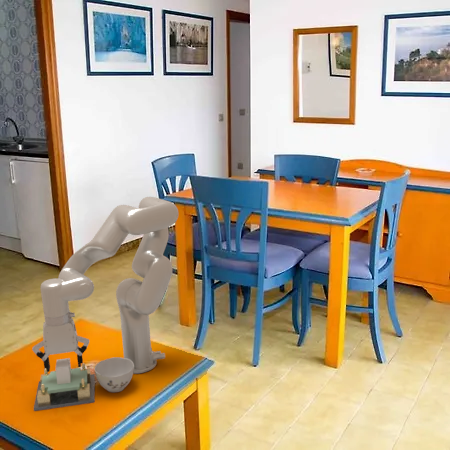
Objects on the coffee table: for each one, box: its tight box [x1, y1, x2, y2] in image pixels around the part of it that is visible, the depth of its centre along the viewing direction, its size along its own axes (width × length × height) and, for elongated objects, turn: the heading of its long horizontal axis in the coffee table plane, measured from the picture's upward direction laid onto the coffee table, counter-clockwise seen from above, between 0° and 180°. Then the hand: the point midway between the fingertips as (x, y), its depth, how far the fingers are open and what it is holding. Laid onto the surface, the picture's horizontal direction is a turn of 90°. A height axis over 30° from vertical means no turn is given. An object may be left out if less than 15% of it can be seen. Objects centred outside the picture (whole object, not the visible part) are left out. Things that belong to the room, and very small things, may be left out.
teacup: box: [93, 357, 134, 393], centre depth 183 cm, size 15×12×8 cm
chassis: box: [33, 362, 96, 412], centre depth 180 cm, size 18×16×7 cm
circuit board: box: [41, 357, 87, 394], centre depth 179 cm, size 14×12×6 cm
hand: (64, 367), depth 179 cm, fingers open, 9 cm apart
